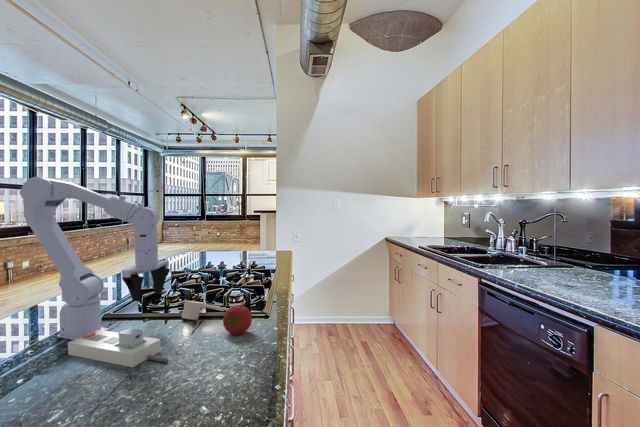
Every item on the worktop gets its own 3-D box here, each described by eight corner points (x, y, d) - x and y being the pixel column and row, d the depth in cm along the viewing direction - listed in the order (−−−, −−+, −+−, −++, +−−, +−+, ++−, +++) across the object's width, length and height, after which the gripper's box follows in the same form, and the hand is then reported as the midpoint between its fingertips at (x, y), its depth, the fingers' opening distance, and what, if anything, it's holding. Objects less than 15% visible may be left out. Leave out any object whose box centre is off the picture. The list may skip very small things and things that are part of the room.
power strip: (68, 354, 78) (67, 339, 78) (100, 340, 86) (99, 327, 85) (154, 371, 70) (153, 355, 70) (180, 354, 78) (180, 340, 77)
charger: (119, 358, 76) (118, 333, 76) (130, 352, 79) (129, 328, 79) (132, 360, 75) (132, 335, 75) (143, 354, 78) (142, 330, 78)
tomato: (243, 297, 94) (229, 300, 87) (261, 317, 92) (248, 321, 85) (226, 318, 95) (211, 322, 88) (244, 338, 92) (229, 344, 85)
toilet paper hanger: (246, 308, 109) (210, 306, 95) (243, 324, 108) (206, 324, 94) (203, 300, 118) (165, 296, 105) (200, 314, 117) (161, 312, 104)
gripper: (135, 254, 84) (137, 306, 85) (176, 246, 98) (177, 291, 98) (115, 253, 86) (116, 303, 87) (157, 245, 100) (159, 289, 101)
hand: (147, 296), depth 93 cm, fingers open, 7 cm apart
